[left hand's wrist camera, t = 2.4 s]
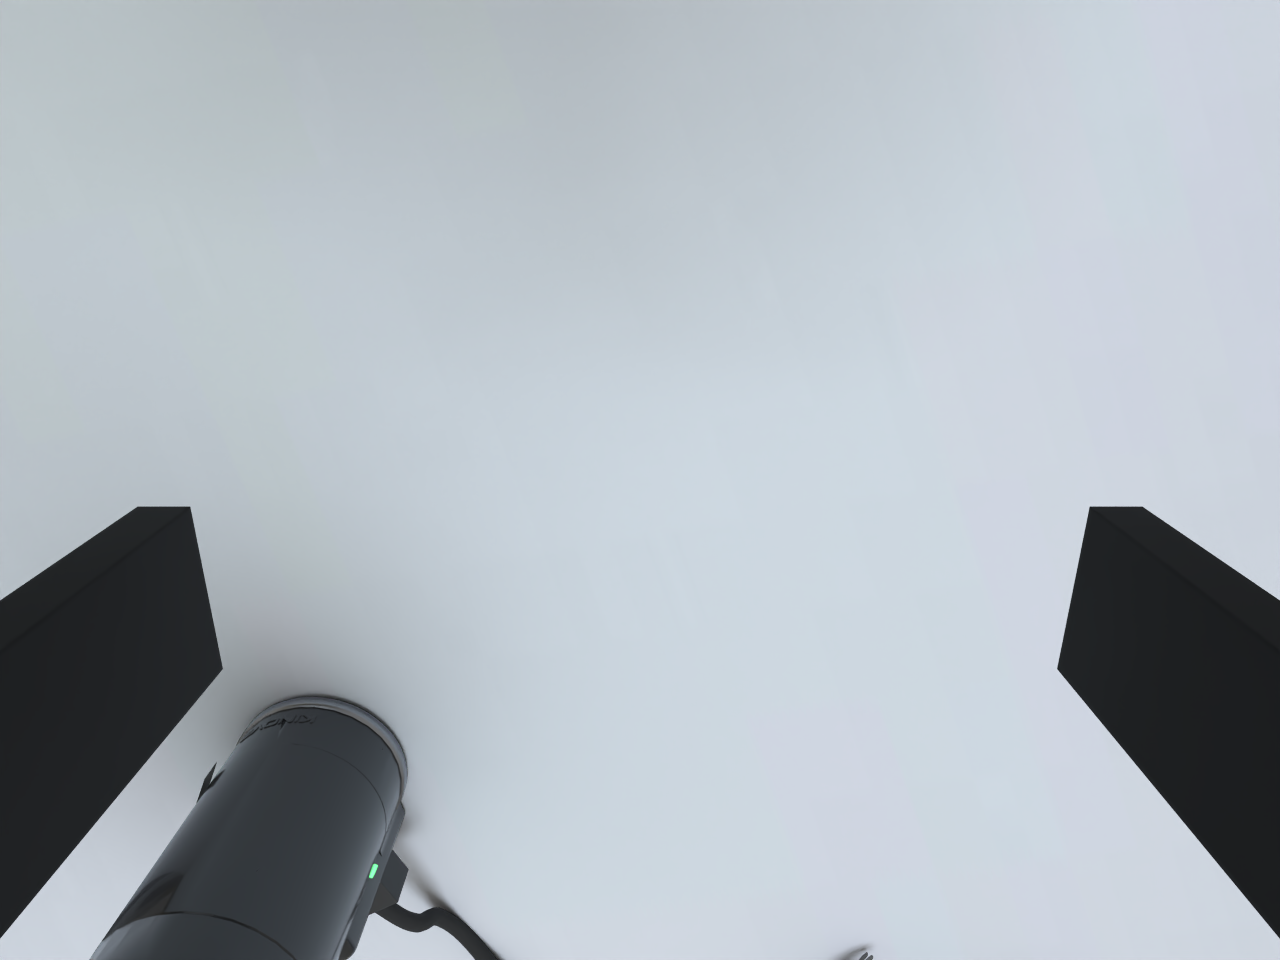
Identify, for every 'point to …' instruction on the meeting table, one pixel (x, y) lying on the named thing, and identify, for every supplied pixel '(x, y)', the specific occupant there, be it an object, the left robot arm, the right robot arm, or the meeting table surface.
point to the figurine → (866, 956)
